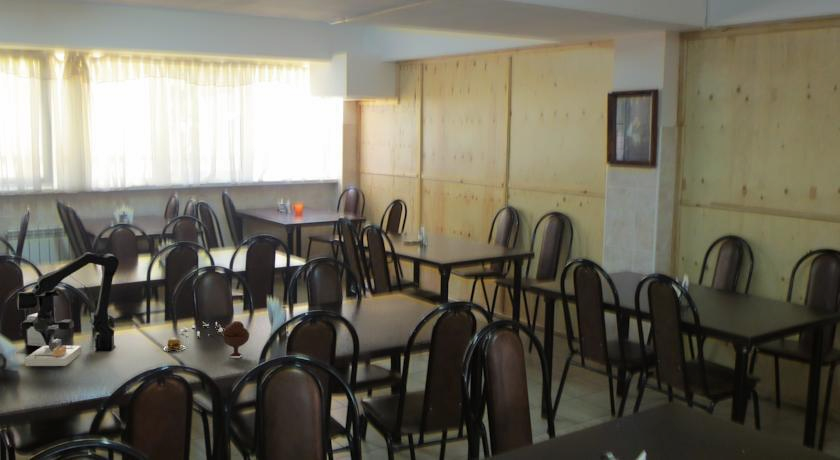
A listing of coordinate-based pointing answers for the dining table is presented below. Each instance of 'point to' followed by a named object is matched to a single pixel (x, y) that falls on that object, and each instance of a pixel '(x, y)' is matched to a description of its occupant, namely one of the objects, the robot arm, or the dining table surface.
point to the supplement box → (35, 334)
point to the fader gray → (54, 343)
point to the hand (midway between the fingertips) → (48, 345)
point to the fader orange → (59, 351)
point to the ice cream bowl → (235, 336)
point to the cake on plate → (174, 344)
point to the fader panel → (47, 359)
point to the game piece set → (198, 331)
